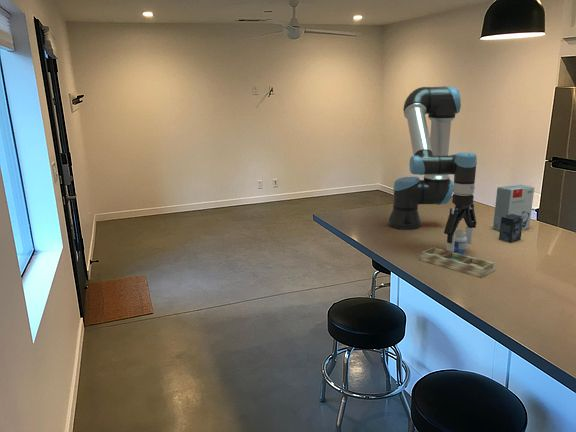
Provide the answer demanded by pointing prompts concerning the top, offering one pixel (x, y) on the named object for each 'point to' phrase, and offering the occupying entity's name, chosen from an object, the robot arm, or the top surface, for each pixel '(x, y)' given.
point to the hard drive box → (513, 204)
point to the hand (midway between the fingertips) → (459, 247)
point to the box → (511, 228)
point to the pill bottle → (460, 242)
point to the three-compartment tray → (457, 262)
